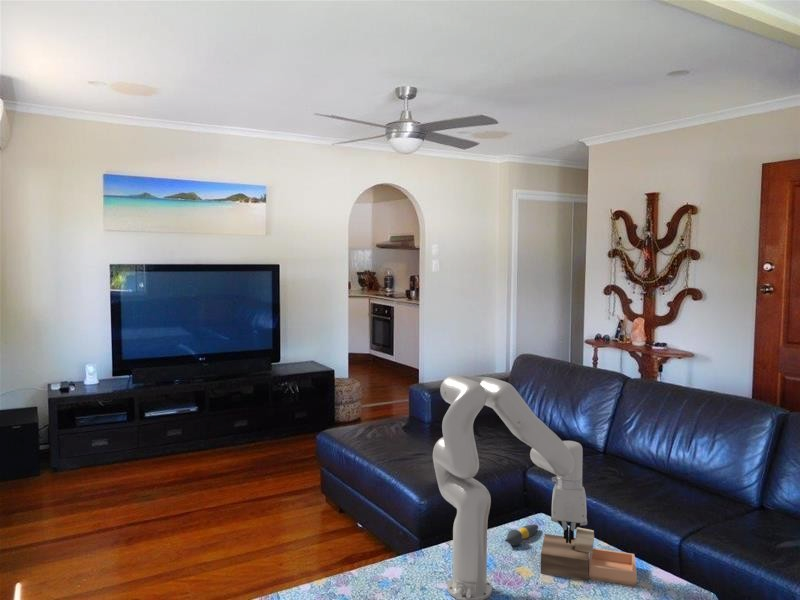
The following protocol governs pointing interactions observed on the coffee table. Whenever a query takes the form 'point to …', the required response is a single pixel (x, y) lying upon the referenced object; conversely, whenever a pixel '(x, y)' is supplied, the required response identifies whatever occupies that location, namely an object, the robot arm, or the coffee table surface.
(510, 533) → the paintbrush
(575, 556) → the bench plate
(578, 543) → the beech block
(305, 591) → the coffee table surface
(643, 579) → the coffee table surface
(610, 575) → the tray
